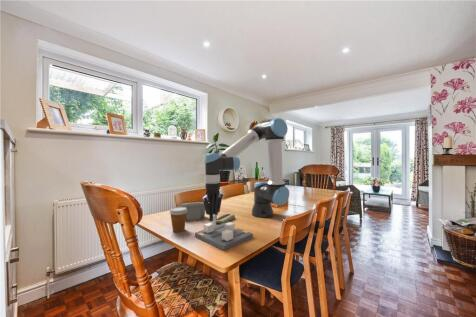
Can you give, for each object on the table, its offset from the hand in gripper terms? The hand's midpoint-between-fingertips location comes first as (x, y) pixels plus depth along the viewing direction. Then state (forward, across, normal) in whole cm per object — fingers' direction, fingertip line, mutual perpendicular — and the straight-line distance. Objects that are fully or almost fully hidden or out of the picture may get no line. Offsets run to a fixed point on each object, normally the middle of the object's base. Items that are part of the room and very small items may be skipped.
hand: (213, 226), depth 107 cm
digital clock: (+4, -8, -30) cm, 32 cm away
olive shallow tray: (+5, -18, -12) cm, 22 cm away
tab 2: (+2, -5, +7) cm, 9 cm away
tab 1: (+1, +3, 0) cm, 3 cm away
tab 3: (+2, +3, +14) cm, 14 cm away
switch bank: (+4, -1, +7) cm, 8 cm away
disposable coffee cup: (+4, +10, -18) cm, 21 cm away
